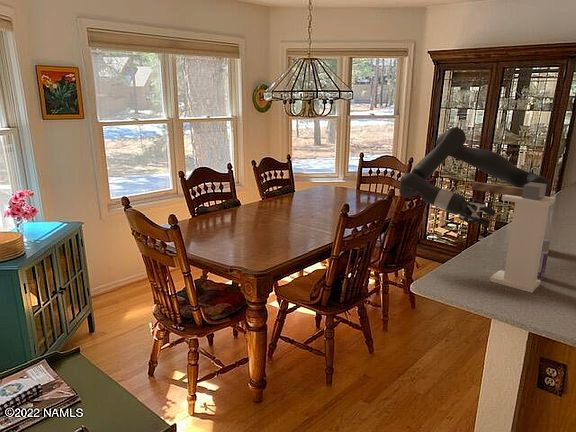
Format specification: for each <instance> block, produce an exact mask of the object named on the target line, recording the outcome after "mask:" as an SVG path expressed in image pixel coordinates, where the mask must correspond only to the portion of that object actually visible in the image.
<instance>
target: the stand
mask: <svg viewBox="0 0 576 432" xmlns="http://www.w3.org/2000/svg"><path fill="white" fill-rule="evenodd" d="M501 201H504V202H505V201H506V202H511V203H514V208H513V213H512V220H511V228H510V233H509V234H510V235H509V238H508V239H509V241H508V247H507V254H506V259H505V266H504V267H505V268H504V270H501V269H499V270H498V271H497V272H495V273H494V274H493V275H491V276H490V278H489V279H490V280H489V282H493V283H495V284H499V285H502V286H506V287H509V288H512V289H513V288H514V289H516V290H520V291H521V290H522V291H525V292H528V293H533V292H534V291H535V290H536V289H537V288H538V287H539V286H540V285H541V281H542V280H538V279H537V274H538V269H539V263H540V257H541V252H542V246H543V240H544V238H545V233H546V228H547V222H548V216H549V210H550V206H551V205H553V204H554V203H555V201H556V197H550V196H548V197H544V198H542V199H540V200H538V201H537V200H530V199H524V198H522V197H521V196H514V195H507V194H502V196H501Z"/></svg>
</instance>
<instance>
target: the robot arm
mask: <svg viewBox="0 0 576 432" xmlns="http://www.w3.org/2000/svg"><path fill="white" fill-rule="evenodd" d="M466 141H467V135H466V133H465V131H464V130H463V129H461V128H460V127H456V126H455V127H451V128H448V129H446V131H444V132H443V133H442V134H440V136H438V137H437V139H436V140H435V145H436V147H434V148H433V149H432V150H431V151H430V152H428V153H427V154H426V155H425V156H424V157H423V158H422V159H421V160H419V162H418V163H417V164H415V166H414V167H413V169H412V170H411V172H406V173H404V174H403V175H402V176H401V178H400V183H399V188H398V190H399V194H400V195H401V196H402V197H403V198H406V199H410V198H413V197H415V196H416V195H417V194H419V195H420V198H421V200H422V201H423V202H425V203H428V204H430V205H433V206H435V207H436V208H438V209H440V210H444V211H446V212H448V213H450V214H453V215H455V216H456V215H458V214H459V215H458V219H459V220H461V221H463V222H465V223H467V224H470V225H472V226H475V224H477V223H478V224H480V225H481V226H485V227H489V225H490V224H491V220H488V219H486V218H483V217H480V216H479V215H478V213H479V212H483V213H485V214H488V215H489V216H490V215H491V216H492V217H493V216H495V215H496V213H497V211H496V209H493V208H491V207H488V206H487V205H486V202H485V201H484V200H483V201H482V200H480V199H477V198H475V197H469V198H468V200H466V197H465V196H464V195H461V194H459V193H456V192H454V191H452V190H449V189H445V188H441V187H439V186H436V185H434V184H432V183H430V182H429V181H427V180H428V179H429V178H430V177H431V176H432V175H433V173H435V171H436V170H437V169H438V168H439V167H440V166H441V164H442V163H444V161H446V159H447V158H448V157H450V158H451V157H452V158H454V159H456V160H458V161H462V162H464V163H466V164H468V165H469V166H471V167H474V168H476V169H478V170H479V171H481V172H483V173H485V174H487V175H489V176H490V177H493V178H496V179H498V180H501V181H505V182H506V183H508V184H511V186H512V187H519V188H523V187H524V185H525V184H528V183H530V182H533V183H542V184H547V186H546V192H545V197H549V193H550V181H549V180H548V179H547V178H546V177H544V176H542V175H539V174H535V173H532V172H530V171H529V172H528V171H526V170H524V169H521V168H519V167H518V166H516V165H515V164H513V163H512V162H511V161H510V160H509V159H507V158H505V157H504V156H503V155H501V154H499V153H496V152H495V151H492V150H488V149H485V148H484V149H483V148H472V147H468V146H466V145H465V143H466Z"/></svg>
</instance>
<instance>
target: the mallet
mask: <svg viewBox="0 0 576 432" xmlns="http://www.w3.org/2000/svg"><path fill="white" fill-rule="evenodd" d="M546 186H547V184H542V183H533V182H530V183H528V184H525V185H524V187H523V188H519V187H515V186H513V185H511V186H509V185H503V184H496V183H488V182H480V181H473V182H471V190H472V191H473V190H474V191H481V192H487V193H493V194H501V195H505V194H507V195H514V196H521V197H522V198H524V199H530V200H537V201H538V200H540V199H542V198H544V197H545V192H546Z"/></svg>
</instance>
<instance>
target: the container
mask: <svg viewBox="0 0 576 432" xmlns="http://www.w3.org/2000/svg"><path fill="white" fill-rule="evenodd" d="M550 243H551V239H550V238H547V237H544V240H543V246H542V252H541V257H540V263H539V269H538V274H537V280H541V281H542V280H544V279H545V274H546V268H547V267H546V266H547V263H548V262H547V261H548V256H549V251H550Z"/></svg>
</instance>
